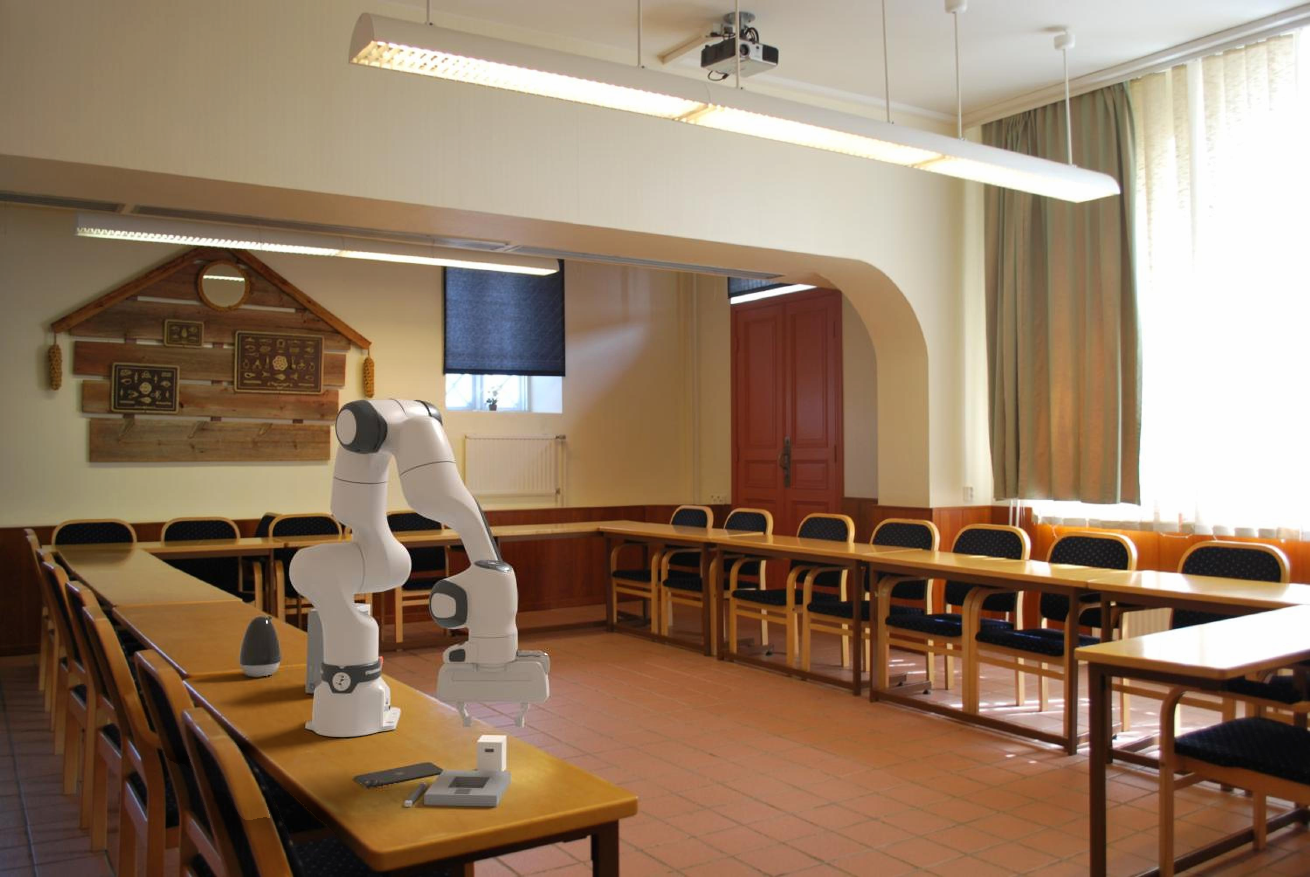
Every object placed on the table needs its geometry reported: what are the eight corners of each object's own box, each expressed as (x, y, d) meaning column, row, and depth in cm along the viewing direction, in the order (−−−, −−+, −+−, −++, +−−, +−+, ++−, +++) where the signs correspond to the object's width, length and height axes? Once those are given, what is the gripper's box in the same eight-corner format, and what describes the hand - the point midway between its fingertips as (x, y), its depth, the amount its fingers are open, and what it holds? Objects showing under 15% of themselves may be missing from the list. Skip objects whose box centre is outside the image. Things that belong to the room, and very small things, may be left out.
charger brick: (481, 767, 192) (482, 735, 192) (506, 768, 192) (506, 735, 192) (476, 775, 188) (476, 742, 188) (501, 776, 187) (501, 742, 187)
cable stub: (420, 787, 181) (420, 781, 181) (427, 788, 181) (427, 781, 181) (403, 808, 171) (404, 800, 171) (411, 808, 171) (411, 801, 171)
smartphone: (447, 770, 189) (367, 786, 180) (447, 774, 189) (367, 791, 180) (429, 760, 195) (351, 775, 185) (429, 765, 195) (351, 780, 185)
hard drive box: (331, 696, 246) (332, 612, 246) (304, 694, 248) (305, 610, 248) (370, 683, 260) (371, 603, 261) (344, 680, 263) (345, 601, 263)
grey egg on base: (288, 671, 273) (289, 613, 273) (269, 680, 263) (270, 619, 263) (251, 670, 274) (251, 612, 274) (231, 678, 264) (231, 618, 264)
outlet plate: (443, 779, 185) (443, 769, 185) (510, 781, 184) (510, 770, 184) (424, 805, 172) (424, 793, 172) (496, 806, 171) (496, 795, 171)
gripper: (552, 647, 193) (552, 722, 192) (442, 647, 193) (443, 722, 193) (547, 653, 186) (547, 731, 186) (434, 653, 187) (434, 730, 187)
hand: (493, 726), depth 189 cm, fingers open, 8 cm apart
